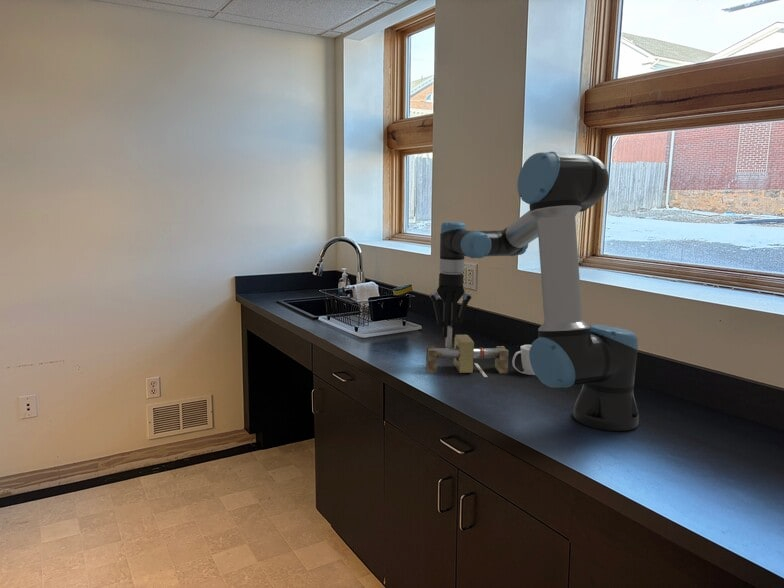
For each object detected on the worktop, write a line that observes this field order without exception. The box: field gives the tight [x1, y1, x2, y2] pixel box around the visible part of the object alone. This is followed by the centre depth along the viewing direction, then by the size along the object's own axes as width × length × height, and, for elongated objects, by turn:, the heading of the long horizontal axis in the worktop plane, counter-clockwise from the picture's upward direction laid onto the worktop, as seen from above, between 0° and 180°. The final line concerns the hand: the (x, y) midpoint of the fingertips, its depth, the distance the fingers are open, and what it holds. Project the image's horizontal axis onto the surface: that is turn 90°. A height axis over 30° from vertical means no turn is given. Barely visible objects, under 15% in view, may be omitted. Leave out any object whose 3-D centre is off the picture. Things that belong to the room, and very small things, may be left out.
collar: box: [453, 334, 475, 374], centre depth 185 cm, size 4×9×9 cm, turn 5°
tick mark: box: [473, 362, 488, 378], centre depth 186 cm, size 1×14×1 cm, turn 5°
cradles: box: [425, 345, 509, 375], centre depth 185 cm, size 24×6×7 cm, turn 95°
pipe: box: [428, 347, 507, 360], centre depth 185 cm, size 24×3×3 cm, turn 95°
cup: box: [511, 344, 536, 376], centre depth 184 cm, size 7×10×8 cm
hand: (448, 347), depth 188 cm, fingers closed
